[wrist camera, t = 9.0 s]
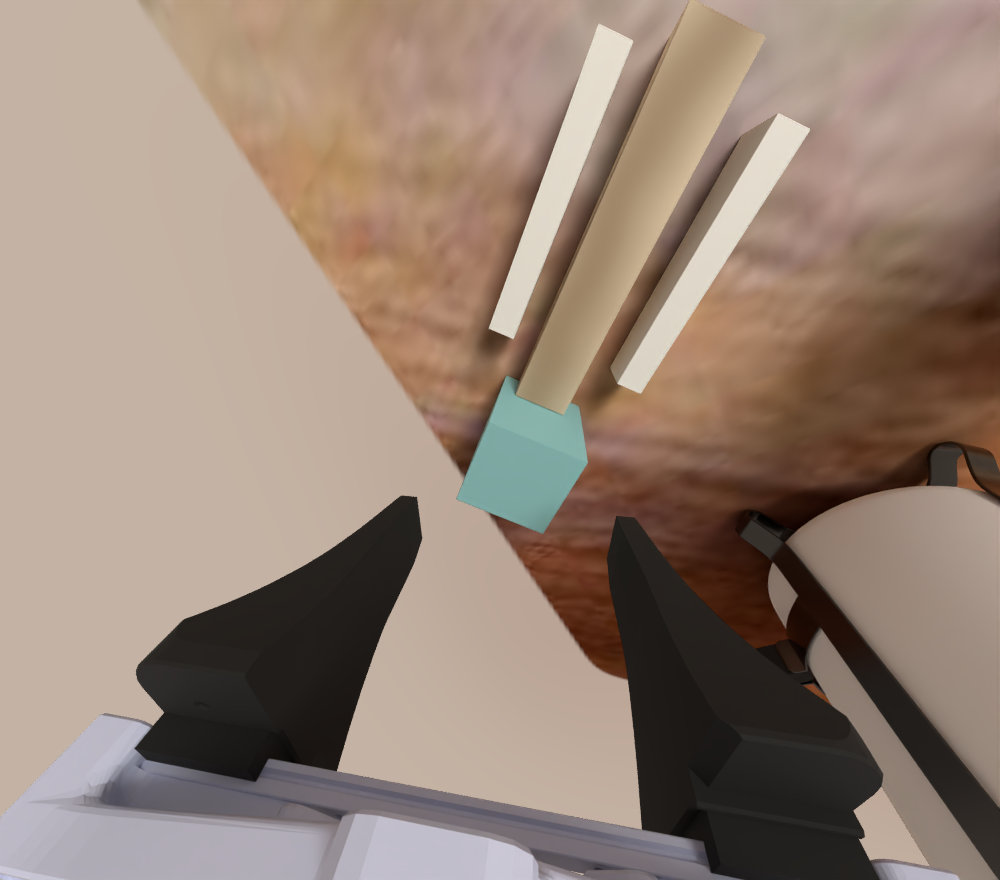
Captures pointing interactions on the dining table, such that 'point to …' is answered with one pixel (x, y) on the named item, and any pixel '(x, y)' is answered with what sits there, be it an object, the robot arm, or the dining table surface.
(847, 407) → the dining table surface
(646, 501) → the dining table surface
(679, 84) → the rod
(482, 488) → the block
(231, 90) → the dining table surface
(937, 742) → the coffee press
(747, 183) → the channel
